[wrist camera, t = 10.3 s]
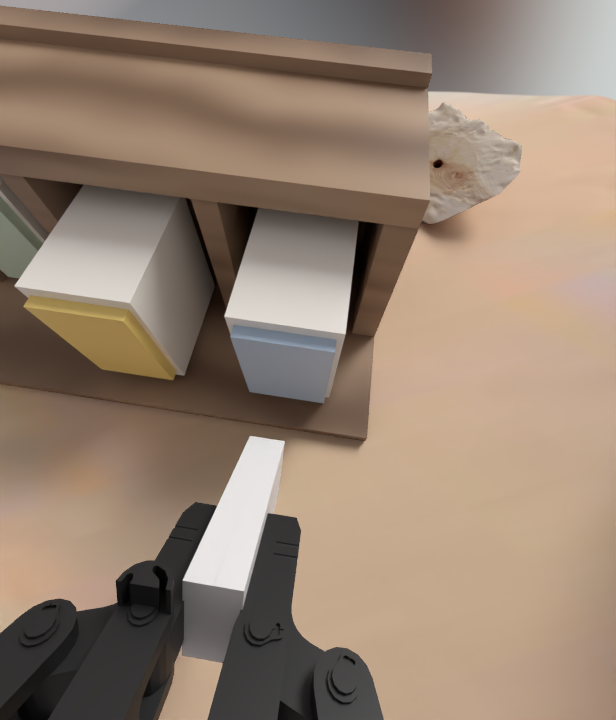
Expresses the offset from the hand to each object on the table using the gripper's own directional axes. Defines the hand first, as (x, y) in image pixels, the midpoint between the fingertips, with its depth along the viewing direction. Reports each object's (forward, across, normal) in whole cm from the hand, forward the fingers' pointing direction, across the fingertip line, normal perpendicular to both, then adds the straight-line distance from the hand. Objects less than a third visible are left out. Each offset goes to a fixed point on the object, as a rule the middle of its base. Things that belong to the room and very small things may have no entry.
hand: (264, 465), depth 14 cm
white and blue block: (+9, 0, +3) cm, 9 cm away
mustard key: (+9, -9, +3) cm, 13 cm away
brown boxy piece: (+11, -9, +4) cm, 15 cm away
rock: (+23, +9, +16) cm, 29 cm away
